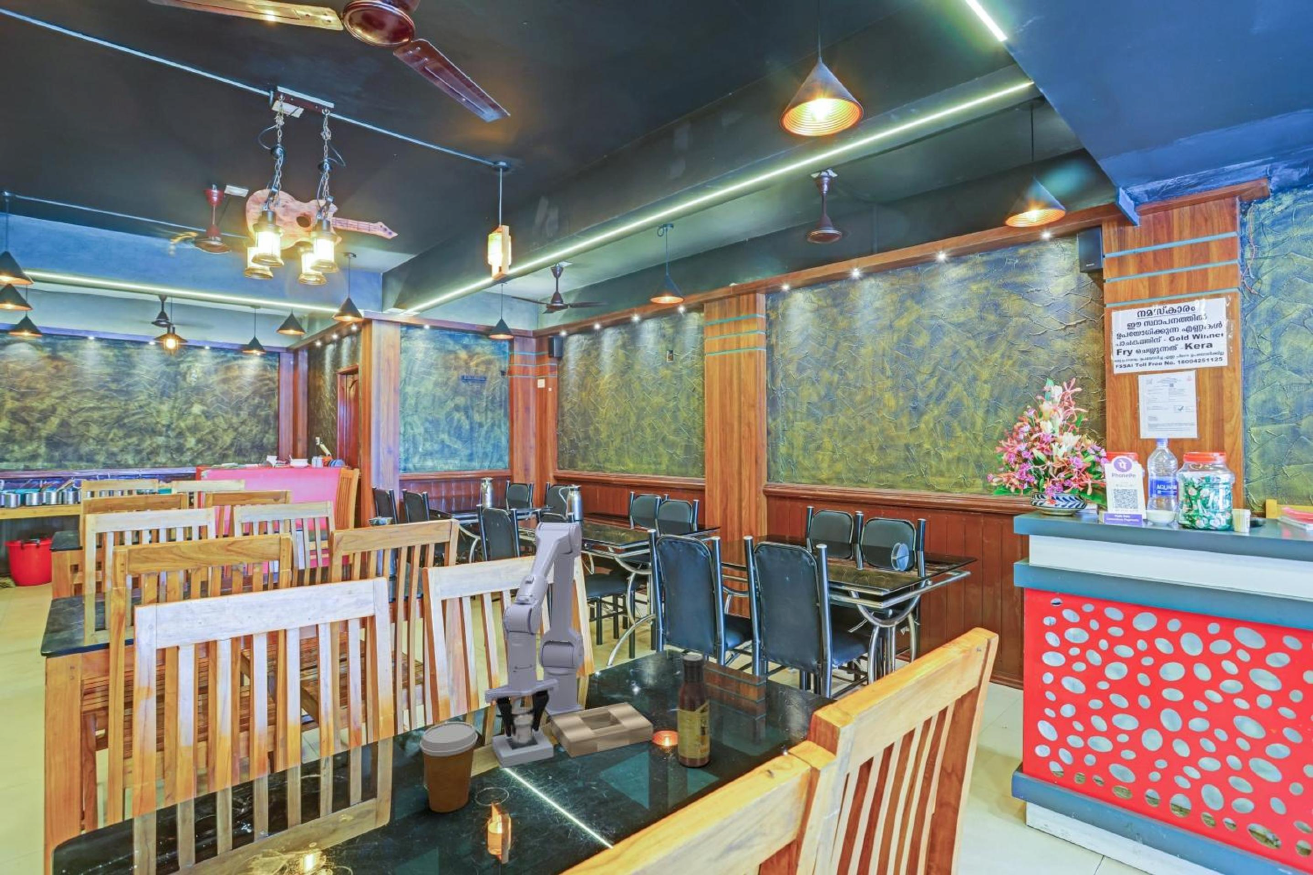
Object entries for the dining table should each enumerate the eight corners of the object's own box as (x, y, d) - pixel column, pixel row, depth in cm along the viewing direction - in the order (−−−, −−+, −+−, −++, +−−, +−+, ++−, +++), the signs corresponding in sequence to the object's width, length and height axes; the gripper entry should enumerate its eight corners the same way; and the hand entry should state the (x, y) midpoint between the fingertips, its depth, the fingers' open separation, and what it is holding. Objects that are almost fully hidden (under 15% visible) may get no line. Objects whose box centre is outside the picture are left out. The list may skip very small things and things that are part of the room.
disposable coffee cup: (474, 783, 115) (475, 717, 116) (480, 810, 106) (480, 738, 107) (419, 794, 112) (419, 725, 112) (419, 823, 103) (420, 748, 103)
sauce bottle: (707, 770, 120) (706, 663, 120) (675, 767, 121) (674, 662, 122) (711, 754, 126) (710, 653, 127) (680, 751, 127) (679, 651, 128)
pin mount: (491, 746, 130) (491, 736, 130) (539, 736, 135) (539, 727, 135) (502, 767, 121) (502, 757, 121) (553, 756, 126) (553, 746, 126)
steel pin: (506, 749, 129) (506, 709, 129) (531, 744, 131) (531, 705, 131) (512, 759, 125) (512, 718, 125) (537, 754, 127) (537, 713, 127)
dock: (550, 730, 138) (550, 716, 138) (626, 715, 146) (626, 701, 146) (571, 757, 125) (571, 742, 125) (653, 739, 133) (653, 724, 133)
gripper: (489, 675, 122) (489, 747, 121) (562, 664, 128) (562, 732, 128) (482, 664, 128) (482, 733, 128) (552, 654, 134) (552, 719, 134)
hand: (522, 731), depth 128 cm, fingers closed on steel pin, 5 cm apart
